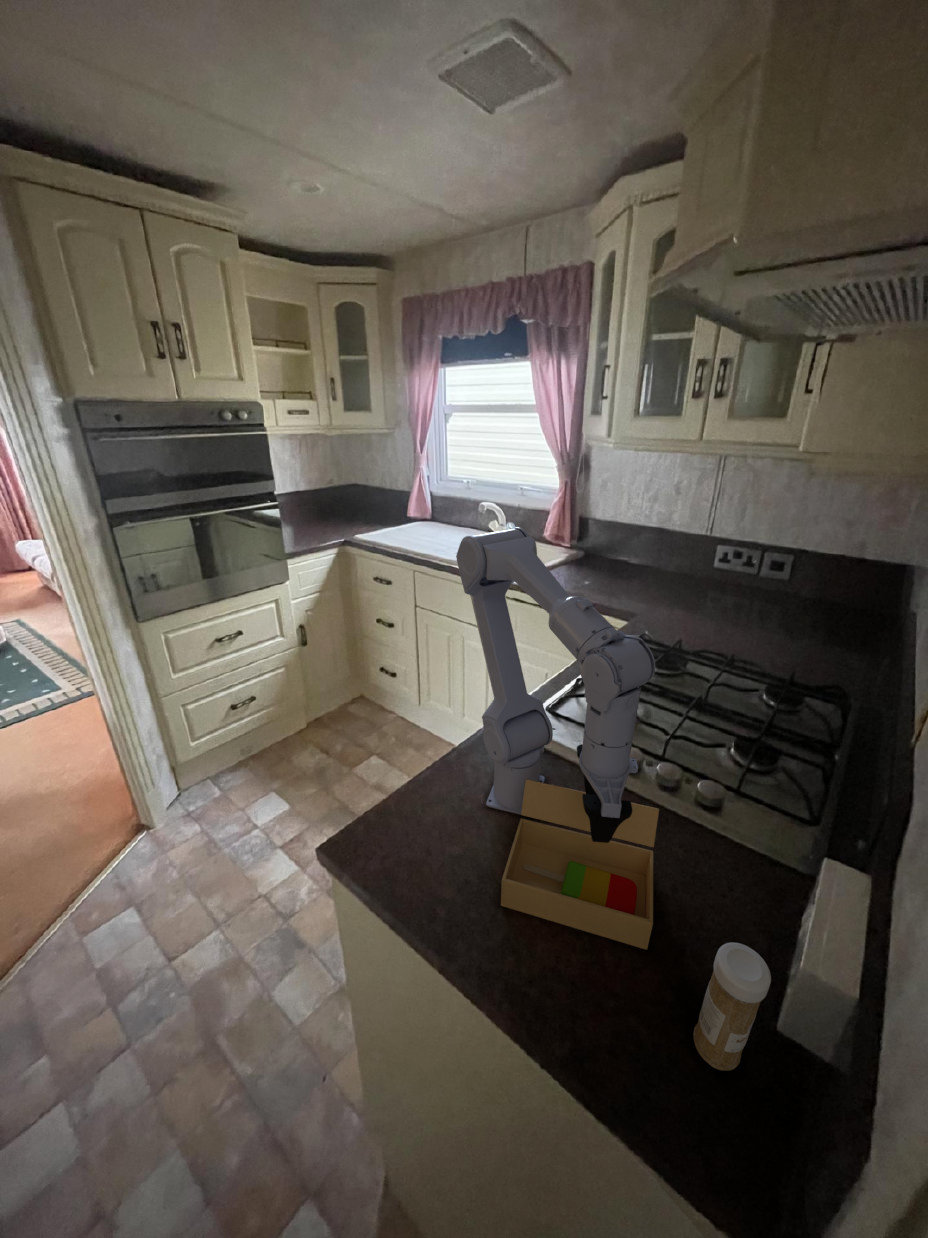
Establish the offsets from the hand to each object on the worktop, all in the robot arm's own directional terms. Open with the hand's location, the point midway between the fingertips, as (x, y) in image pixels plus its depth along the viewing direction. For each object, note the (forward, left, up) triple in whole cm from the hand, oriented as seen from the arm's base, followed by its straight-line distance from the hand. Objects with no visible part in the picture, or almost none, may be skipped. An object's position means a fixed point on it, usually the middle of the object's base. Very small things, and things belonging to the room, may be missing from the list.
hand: (596, 816), depth 68 cm
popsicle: (+4, -1, -10) cm, 11 cm away
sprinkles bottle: (+17, +15, -11) cm, 25 cm away
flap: (-3, -1, -2) cm, 4 cm away
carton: (+4, -1, -10) cm, 11 cm away
